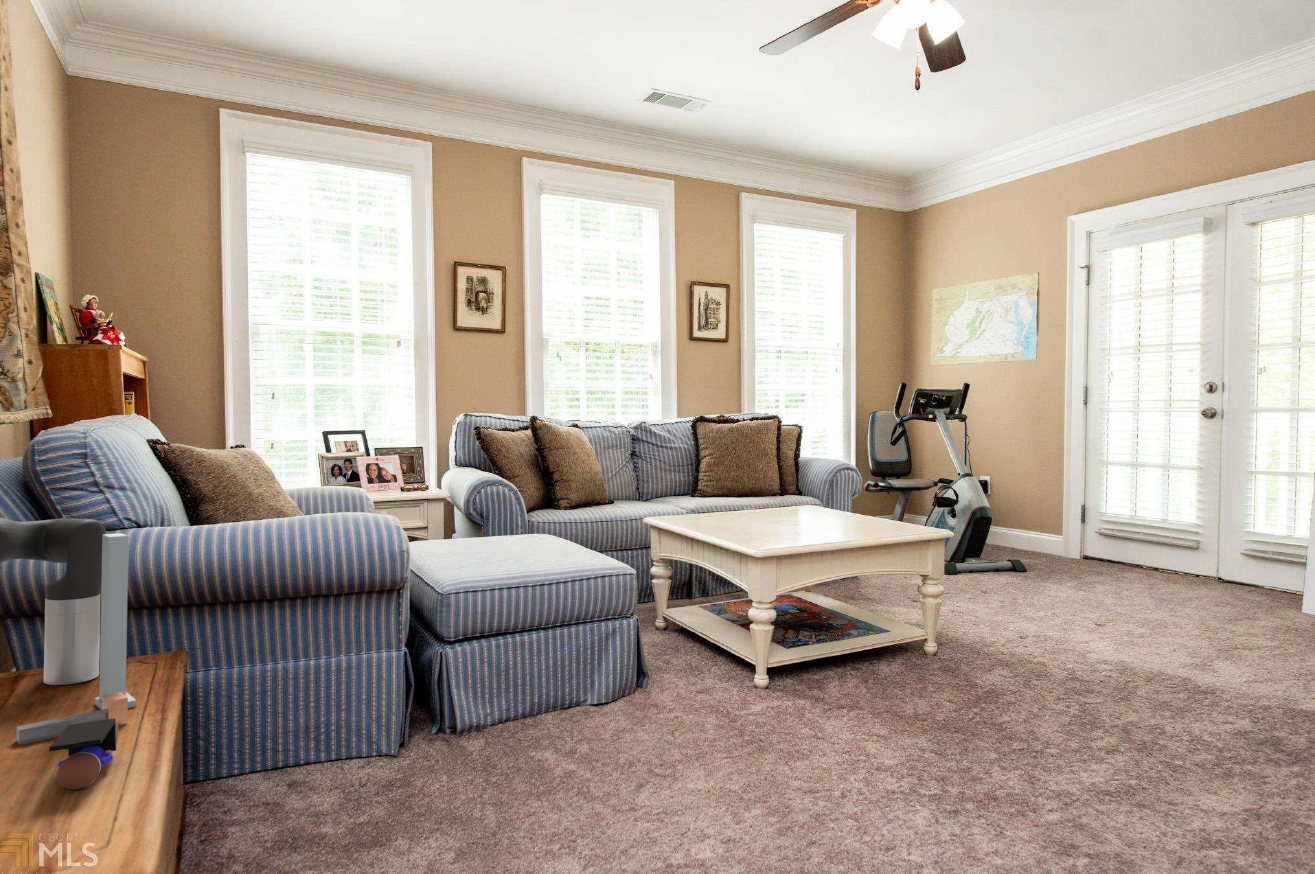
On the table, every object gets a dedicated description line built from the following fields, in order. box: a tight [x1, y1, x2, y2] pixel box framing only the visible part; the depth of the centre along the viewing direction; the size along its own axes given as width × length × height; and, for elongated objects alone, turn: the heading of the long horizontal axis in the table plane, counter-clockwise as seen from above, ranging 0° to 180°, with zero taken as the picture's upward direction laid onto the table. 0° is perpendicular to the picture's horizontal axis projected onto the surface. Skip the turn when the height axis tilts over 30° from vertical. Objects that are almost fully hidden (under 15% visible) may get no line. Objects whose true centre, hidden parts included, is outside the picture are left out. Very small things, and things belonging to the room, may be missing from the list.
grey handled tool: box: [16, 692, 129, 746], centre depth 135 cm, size 5×15×5 cm, turn 137°
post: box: [94, 532, 137, 710], centre depth 148 cm, size 7×5×32 cm
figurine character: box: [48, 718, 119, 791], centre depth 118 cm, size 7×8×15 cm
